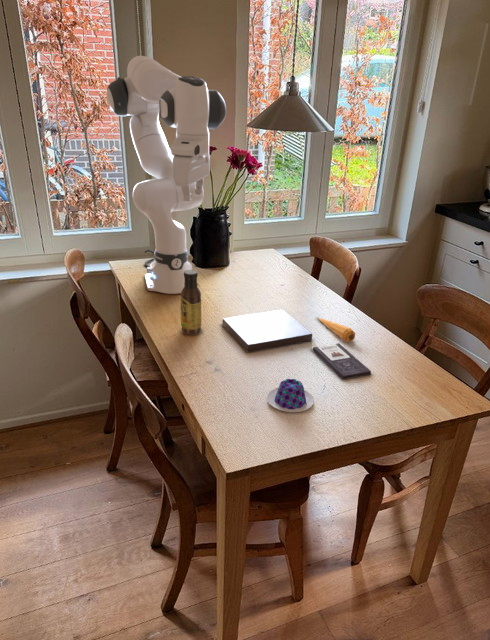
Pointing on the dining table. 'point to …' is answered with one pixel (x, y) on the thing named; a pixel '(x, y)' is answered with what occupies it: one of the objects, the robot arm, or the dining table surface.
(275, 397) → the pudding
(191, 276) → the sauce bottle
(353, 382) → the dining table surface
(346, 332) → the carrot
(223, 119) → the robot arm
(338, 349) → the chocolate bar
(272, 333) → the walnut board
